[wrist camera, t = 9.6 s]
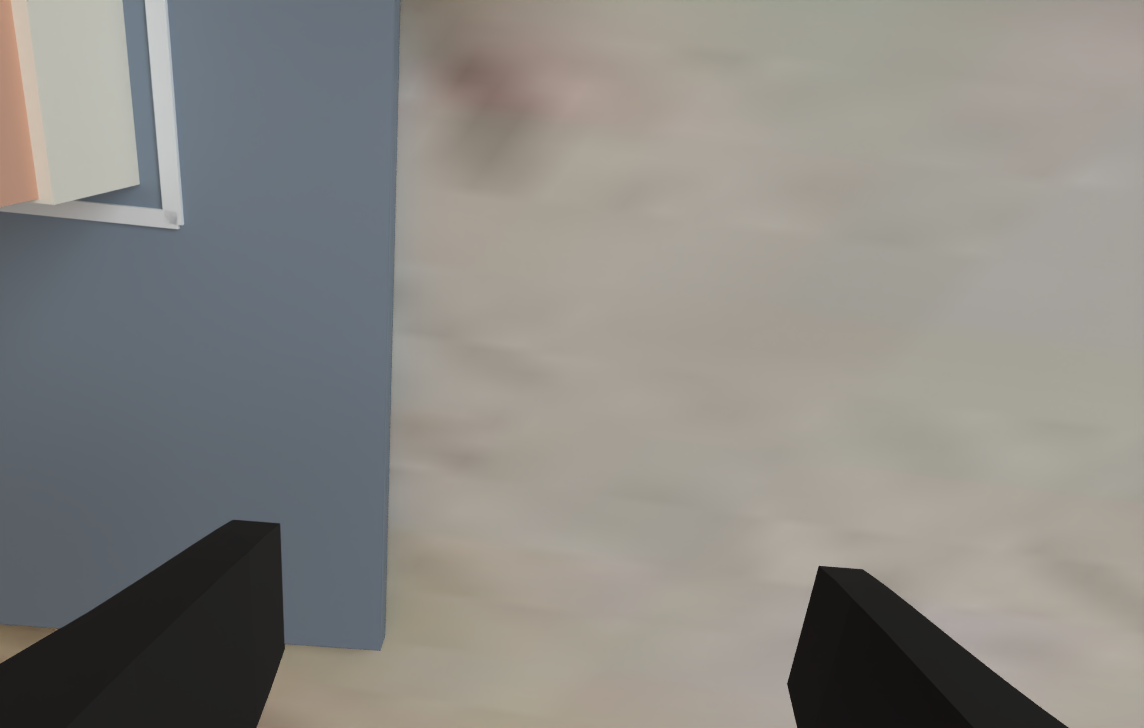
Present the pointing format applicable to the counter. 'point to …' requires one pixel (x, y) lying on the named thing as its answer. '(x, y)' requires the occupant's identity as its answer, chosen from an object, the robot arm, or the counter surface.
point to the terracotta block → (13, 120)
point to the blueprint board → (201, 301)
